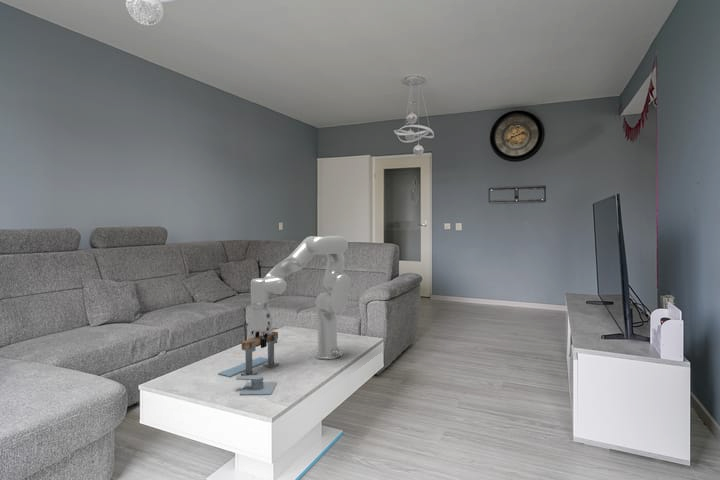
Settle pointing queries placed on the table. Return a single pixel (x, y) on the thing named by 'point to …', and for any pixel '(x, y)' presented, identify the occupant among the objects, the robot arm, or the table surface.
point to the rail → (257, 341)
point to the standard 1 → (249, 360)
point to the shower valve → (256, 385)
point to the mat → (243, 367)
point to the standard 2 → (271, 354)
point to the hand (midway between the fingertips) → (260, 346)
